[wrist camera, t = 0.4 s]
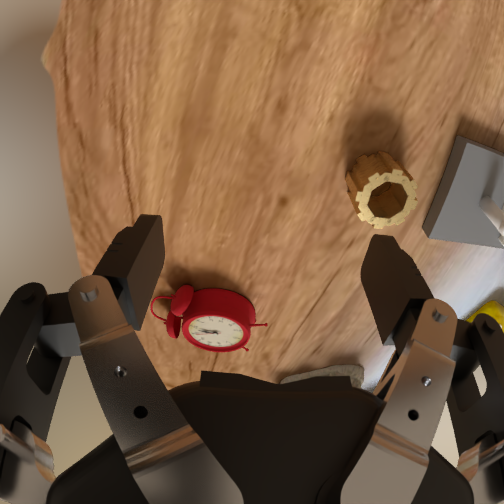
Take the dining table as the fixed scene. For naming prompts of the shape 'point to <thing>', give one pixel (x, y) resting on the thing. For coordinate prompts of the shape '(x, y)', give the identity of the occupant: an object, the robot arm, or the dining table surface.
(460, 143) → the gear board
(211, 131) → the dining table surface
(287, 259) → the dining table surface
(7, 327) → the robot arm
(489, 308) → the element tile
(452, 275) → the dining table surface
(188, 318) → the alarm clock
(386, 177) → the brass gear
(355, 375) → the ceramic cottage
